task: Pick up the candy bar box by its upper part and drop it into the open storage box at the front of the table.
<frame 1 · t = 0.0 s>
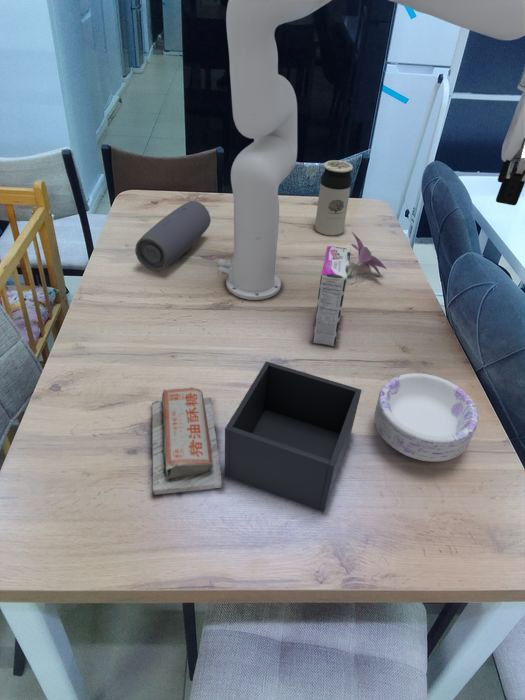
hand: (506, 192, 85), 31 cm above the table, tool pointing down, fingers open, 9 cm apart
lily: (362, 274, 124), on the table
open storage box: (290, 454, 79), on the table
paper bowls: (416, 438, 84), on the table
travel mug: (328, 230, 141), on the table
packaged product: (184, 446, 80), on the table
bluetooth speaker: (176, 254, 126), on the table
candy bar box: (325, 330, 105), on the table
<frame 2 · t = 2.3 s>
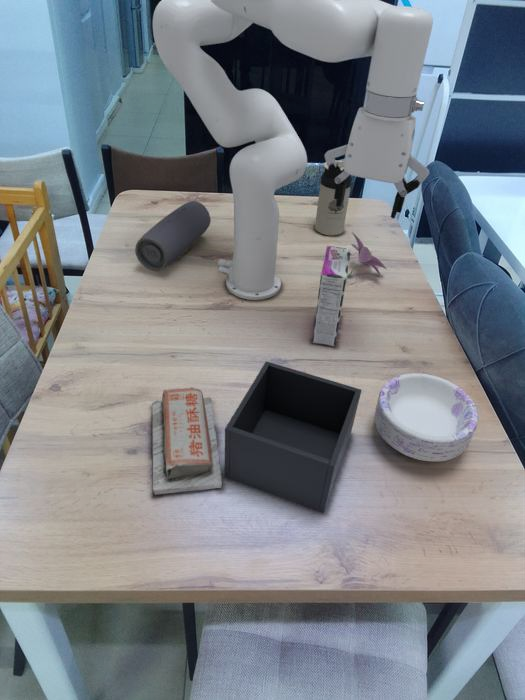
hand: (366, 209, 88), 27 cm above the table, tool pointing down, fingers open, 9 cm apart
nothing on the table moved.
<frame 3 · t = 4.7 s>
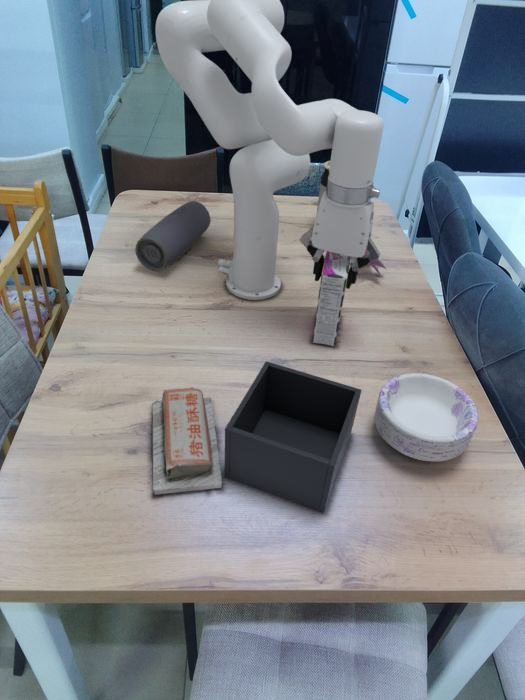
hand: (333, 280, 98), 12 cm above the table, tool pointing down, fingers closed on candy bar box, 5 cm apart
candy bar box: (325, 330, 105), on the table, touching gripper
everything else where it was.
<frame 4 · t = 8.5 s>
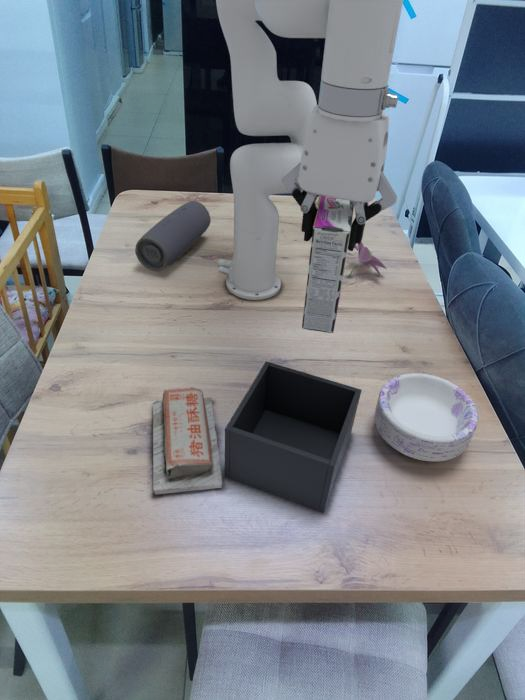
hand: (330, 240, 70), 31 cm above the table, tool pointing down, fingers closed on candy bar box, 5 cm apart
candy bar box: (320, 312, 77), point 19 cm above the table, touching gripper
everything else where it was.
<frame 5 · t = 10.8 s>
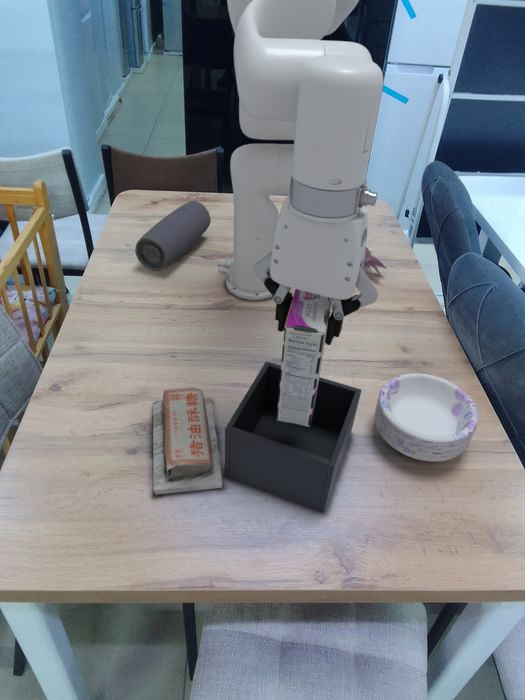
hand: (307, 330, 64), 25 cm above the table, tool pointing down, fingers closed on candy bar box, 5 cm apart
candy bar box: (297, 397, 71), point 13 cm above the table, touching gripper
everything else where it was.
when the fingers open (21 cm above the table, at t = 12.4 s): candy bar box drops 8 cm, resting on open storage box.
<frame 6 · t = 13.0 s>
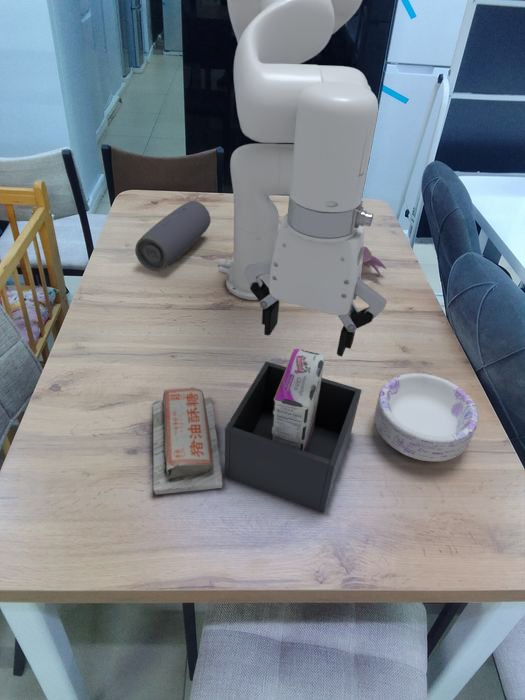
hand: (305, 339, 65), 23 cm above the table, tool pointing down, fingers open, 9 cm apart
candy bar box: (291, 452, 79), resting on open storage box
everything else where it was.
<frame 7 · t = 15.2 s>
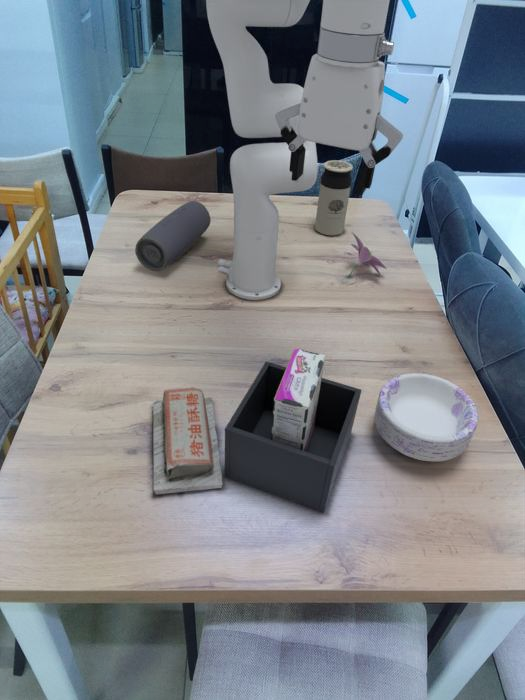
hand: (328, 184, 72), 36 cm above the table, tool pointing down, fingers open, 9 cm apart
nothing on the table moved.
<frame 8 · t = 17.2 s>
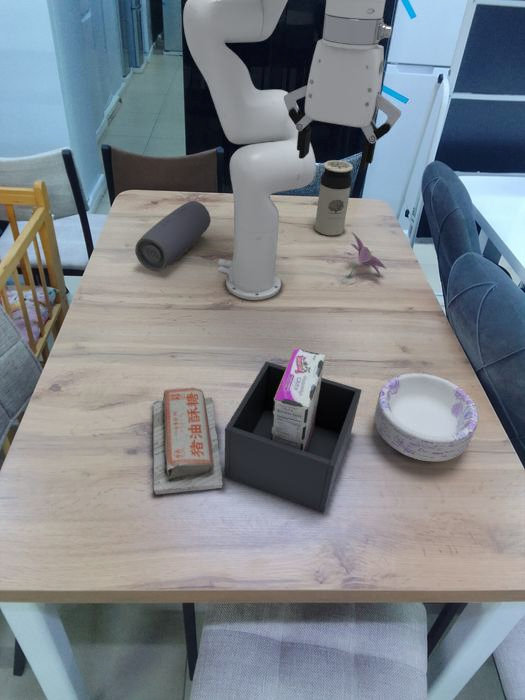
hand: (333, 161, 78), 36 cm above the table, tool pointing down, fingers open, 9 cm apart
nothing on the table moved.
at the end: candy bar box inside the target area in the open storage box (0.2 cm from its centre), point 0.4 cm above the open storage box's base; the gripper is holding nothing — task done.
